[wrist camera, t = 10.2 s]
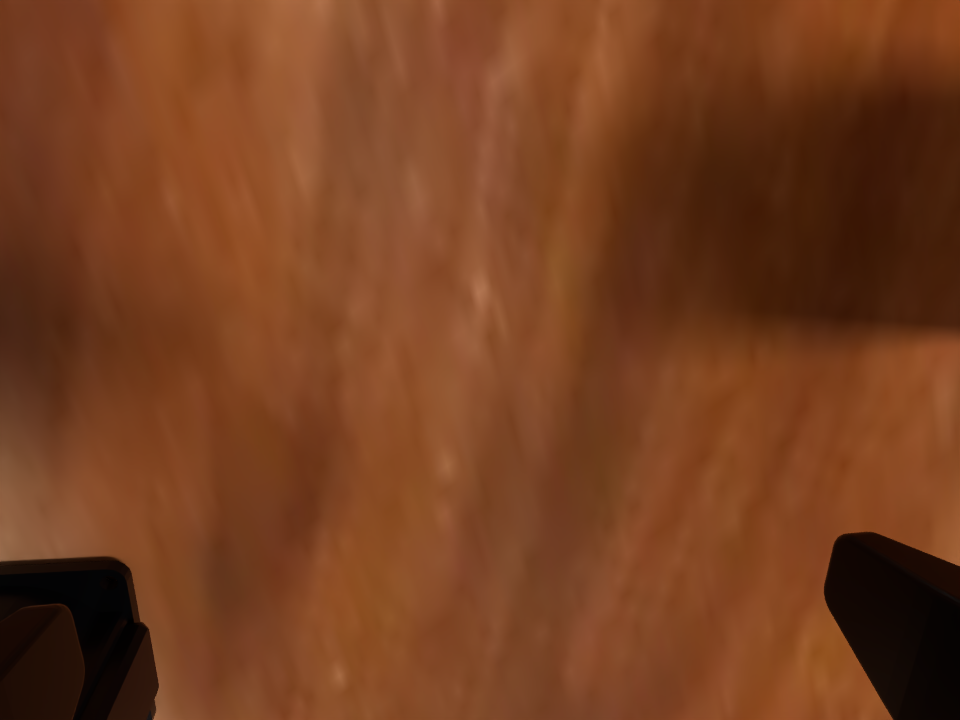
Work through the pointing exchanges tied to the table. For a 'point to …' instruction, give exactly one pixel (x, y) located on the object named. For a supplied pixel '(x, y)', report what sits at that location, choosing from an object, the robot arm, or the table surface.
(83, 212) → the table surface
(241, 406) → the table surface
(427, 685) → the table surface
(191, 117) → the table surface
